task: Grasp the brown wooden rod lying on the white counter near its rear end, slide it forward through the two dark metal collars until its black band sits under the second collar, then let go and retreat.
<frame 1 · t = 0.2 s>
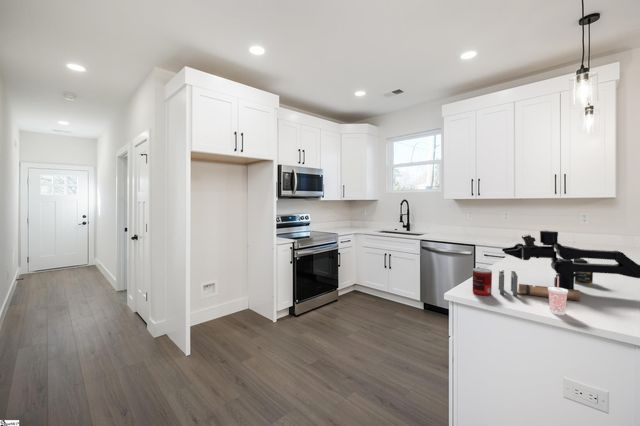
hand: (503, 250, 152), 16 cm above the worktop, tool horizontal, fingers open, 9 cm apart
beverage cup: (557, 312, 113), on the worktop
collar two: (501, 291, 139), on the worktop
collar one: (513, 293, 136), on the worktop
medicine bottle: (580, 282, 152), on the worktop
canned food: (481, 293, 136), on the worktop
brown wooden rod: (547, 296, 130), on the worktop
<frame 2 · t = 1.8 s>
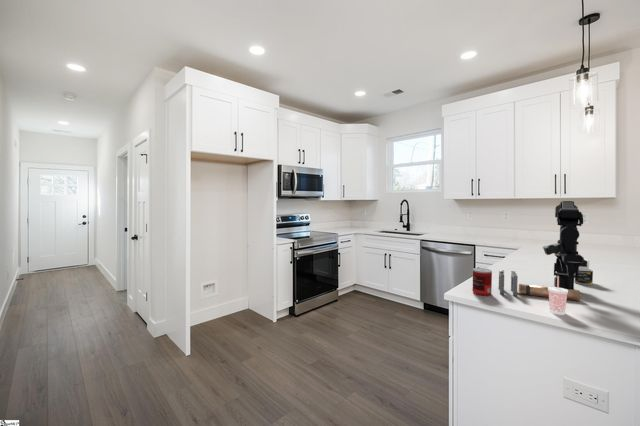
hand: (567, 274, 127), 11 cm above the worktop, tool pointing down, fingers open, 9 cm apart
nothing on the worktop moved.
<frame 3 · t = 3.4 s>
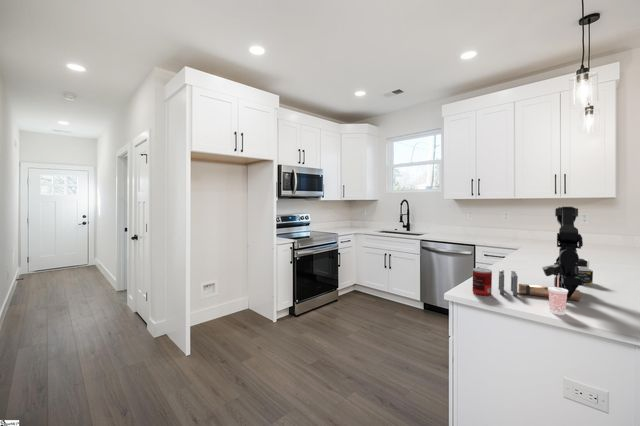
hand: (566, 296, 127), 1 cm above the worktop, tool pointing down, fingers closed on brown wooden rod, 4 cm apart
brown wooden rod: (547, 296, 130), on the worktop, touching gripper
everything else where it was.
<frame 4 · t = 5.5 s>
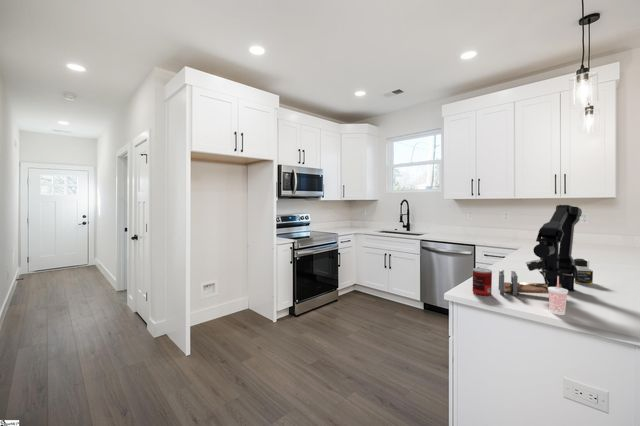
hand: (549, 290, 130), 3 cm above the worktop, tool pointing down, fingers closed on brown wooden rod, 4 cm apart
brown wooden rod: (531, 293, 133), point 1 cm above the worktop, tilted 5°, touching gripper
everything else where it was.
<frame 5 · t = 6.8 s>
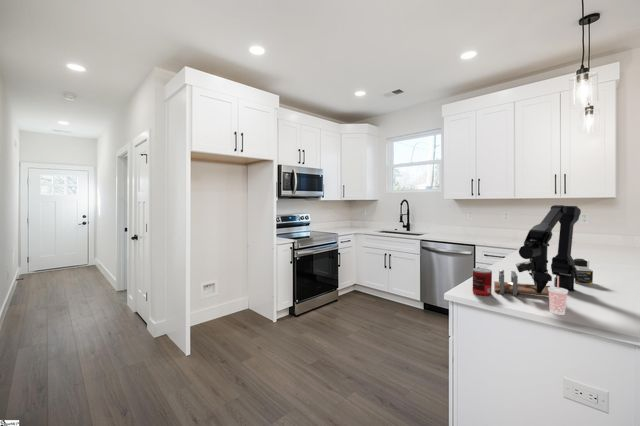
hand: (538, 291, 132), 2 cm above the worktop, tool pointing down, fingers closed on brown wooden rod, 4 cm apart
brown wooden rod: (521, 293, 135), on the worktop, touching gripper
everything else where it was.
when the fingers open (1 cm above the worktop, at t = 7.6 s): brown wooden rod stays where it is, on the worktop.
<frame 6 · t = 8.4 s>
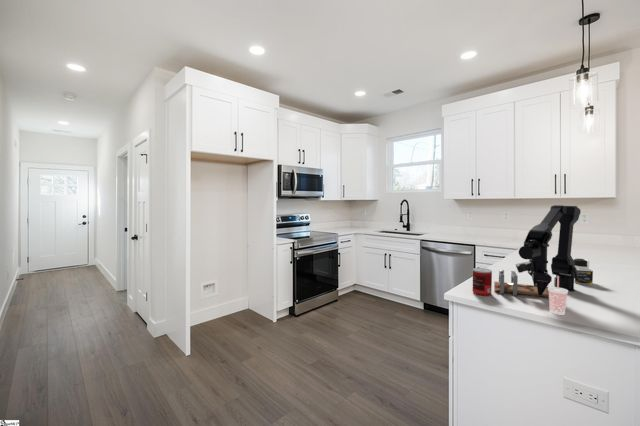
hand: (538, 292, 132), 2 cm above the worktop, tool pointing down, fingers open, 9 cm apart
brown wooden rod: (521, 293, 135), on the worktop, tilted 8°
everything else where it was.
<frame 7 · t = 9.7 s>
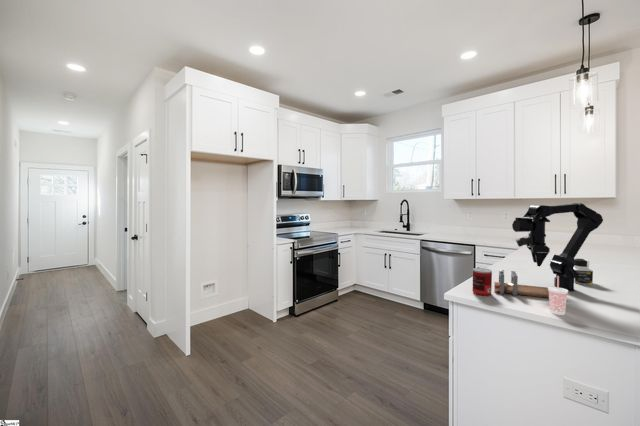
hand: (536, 264, 141), 12 cm above the worktop, tool pointing down, fingers open, 9 cm apart
brown wooden rod: (521, 293, 135), on the worktop, tilted 32°
everything else where it was.
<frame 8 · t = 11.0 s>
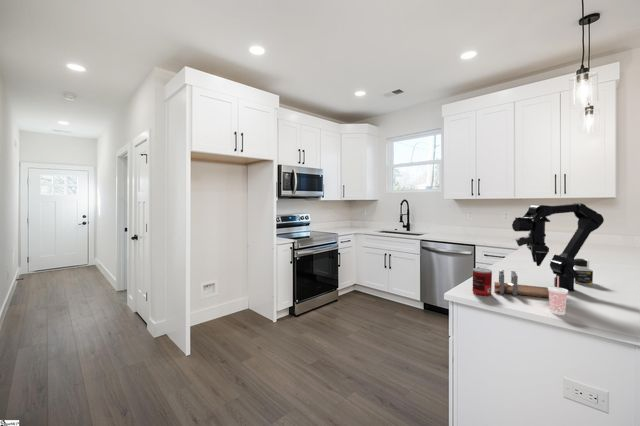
hand: (536, 263, 142), 12 cm above the worktop, tool pointing down, fingers open, 9 cm apart
brown wooden rod: (521, 293, 135), on the worktop, tilted 33°, touching collar two
everything else where it was.
at the end: brown wooden rod 0.6 cm from the target spot, on the worktop; the gripper is holding nothing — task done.
